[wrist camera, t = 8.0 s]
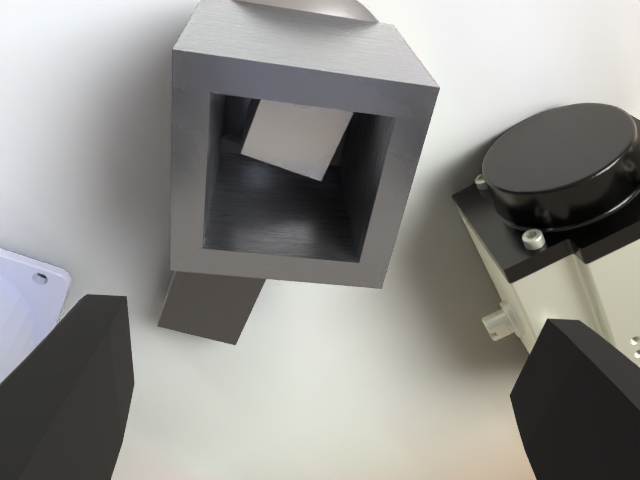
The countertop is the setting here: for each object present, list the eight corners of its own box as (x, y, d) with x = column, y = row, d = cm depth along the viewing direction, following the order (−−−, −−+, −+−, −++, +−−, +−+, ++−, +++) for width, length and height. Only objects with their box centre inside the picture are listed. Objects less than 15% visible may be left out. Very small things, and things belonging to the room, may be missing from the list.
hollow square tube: (196, 170, 17) (170, 270, 12) (203, -6, 14) (172, 49, 10) (356, 188, 17) (381, 288, 13) (393, 25, 14) (440, 87, 10)
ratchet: (229, -70, 14) (214, -50, 11) (424, 20, 16) (464, 62, 13) (125, 287, 21) (97, 368, 18) (272, 325, 23) (272, 406, 19)
